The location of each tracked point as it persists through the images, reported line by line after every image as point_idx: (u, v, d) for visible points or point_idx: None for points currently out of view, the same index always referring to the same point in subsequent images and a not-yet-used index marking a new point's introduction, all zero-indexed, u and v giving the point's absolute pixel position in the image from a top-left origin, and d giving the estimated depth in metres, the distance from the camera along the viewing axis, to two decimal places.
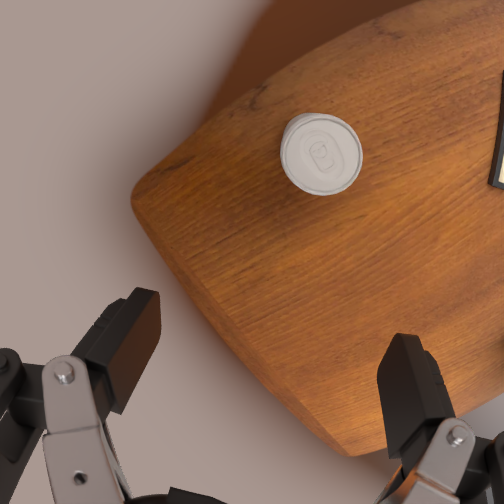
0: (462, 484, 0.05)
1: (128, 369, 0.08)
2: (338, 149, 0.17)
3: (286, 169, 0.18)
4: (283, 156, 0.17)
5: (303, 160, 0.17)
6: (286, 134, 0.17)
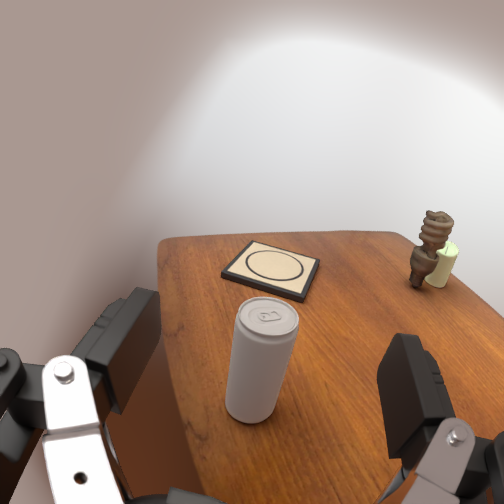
0: (462, 484, 0.05)
1: (128, 369, 0.08)
2: (265, 308, 0.25)
3: (274, 334, 0.22)
4: (263, 333, 0.22)
5: (269, 325, 0.23)
6: (246, 333, 0.22)
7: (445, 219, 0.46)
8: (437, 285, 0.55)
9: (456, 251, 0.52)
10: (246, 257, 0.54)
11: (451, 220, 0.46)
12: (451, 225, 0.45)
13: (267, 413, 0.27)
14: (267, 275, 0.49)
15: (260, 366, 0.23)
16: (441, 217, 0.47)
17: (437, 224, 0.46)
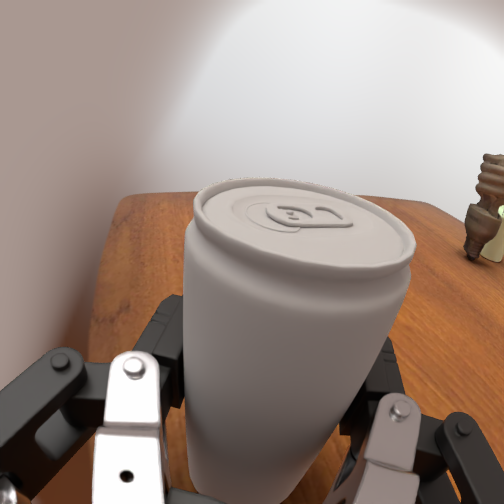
0: (412, 465, 0.06)
1: None
2: (293, 199, 0.07)
3: (350, 266, 0.05)
4: (299, 258, 0.04)
5: (319, 237, 0.05)
6: (217, 270, 0.05)
7: None
8: (494, 258, 0.37)
9: None
10: None
11: None
12: None
13: (286, 495, 0.10)
14: None
15: (280, 409, 0.06)
16: None
17: (502, 168, 0.29)
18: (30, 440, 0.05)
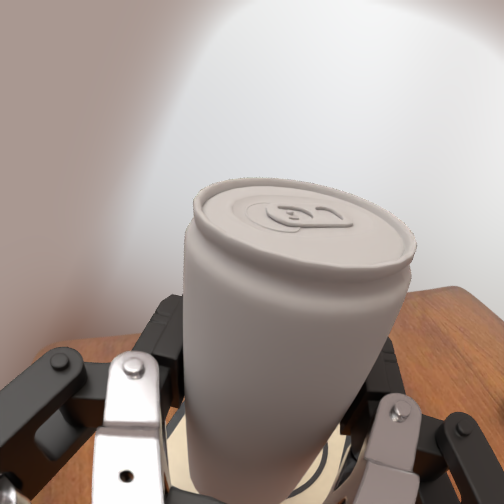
0: (412, 465, 0.06)
1: None
2: (293, 199, 0.07)
3: (350, 266, 0.04)
4: (299, 258, 0.04)
5: (319, 237, 0.05)
6: (217, 270, 0.05)
7: None
8: None
9: None
10: None
11: None
12: None
13: (286, 495, 0.10)
14: None
15: (281, 410, 0.06)
16: None
17: None
18: (30, 440, 0.05)
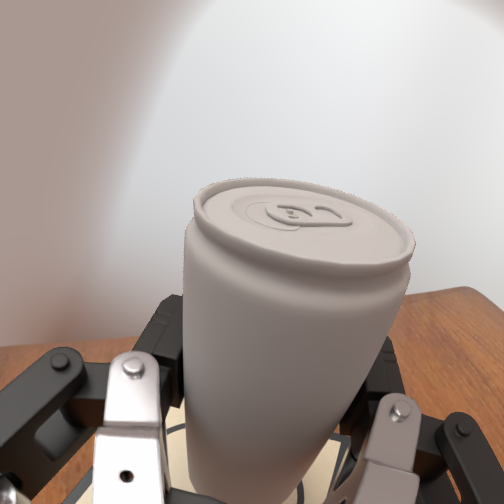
0: (412, 465, 0.06)
1: None
2: (292, 198, 0.07)
3: (349, 263, 0.05)
4: (299, 255, 0.04)
5: (319, 235, 0.05)
6: (217, 267, 0.05)
7: None
8: None
9: None
10: None
11: None
12: None
13: (286, 496, 0.10)
14: None
15: (280, 408, 0.06)
16: None
17: None
18: (30, 440, 0.05)
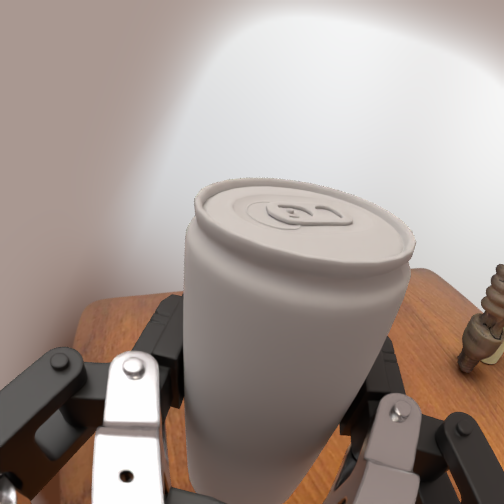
0: (412, 465, 0.06)
1: None
2: (292, 198, 0.07)
3: (351, 261, 0.05)
4: (301, 253, 0.05)
5: (319, 234, 0.05)
6: (219, 266, 0.05)
7: None
8: (490, 362, 0.32)
9: None
10: None
11: None
12: None
13: (286, 497, 0.10)
14: None
15: (282, 408, 0.06)
16: None
17: None
18: (30, 440, 0.05)
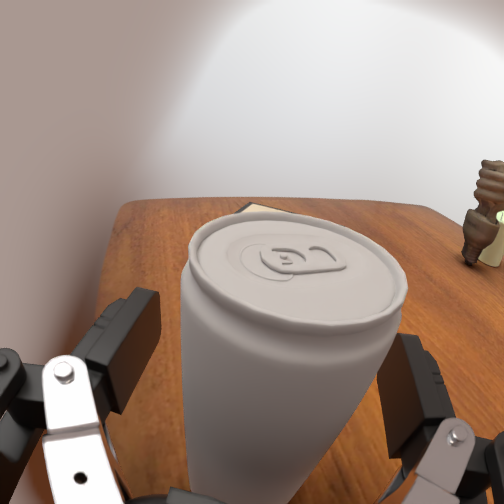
0: (462, 484, 0.05)
1: (128, 369, 0.08)
2: (287, 237, 0.07)
3: (339, 323, 0.05)
4: (290, 317, 0.05)
5: (311, 286, 0.06)
6: (212, 322, 0.05)
7: None
8: (492, 263, 0.38)
9: None
10: None
11: None
12: None
13: None
14: None
15: (274, 441, 0.06)
16: (502, 167, 0.30)
17: (500, 175, 0.29)
18: None
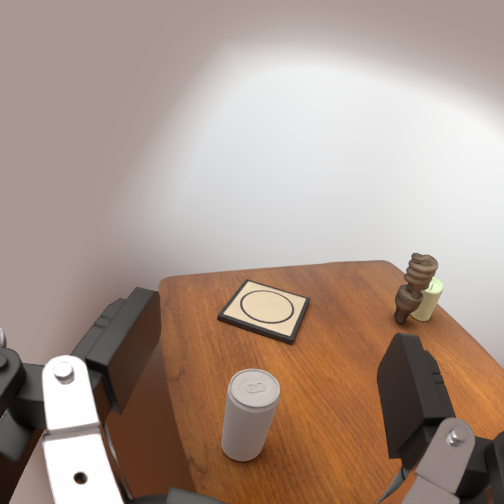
0: (462, 484, 0.05)
1: (128, 369, 0.08)
2: (252, 379, 0.28)
3: (258, 406, 0.25)
4: (249, 405, 0.25)
5: (255, 396, 0.26)
6: (236, 403, 0.26)
7: (429, 262, 0.50)
8: (421, 319, 0.58)
9: (441, 288, 0.56)
10: (240, 298, 0.58)
11: (435, 263, 0.50)
12: (435, 269, 0.49)
13: (256, 453, 0.31)
14: (260, 318, 0.53)
15: (248, 426, 0.27)
16: (426, 261, 0.50)
17: (421, 269, 0.50)
18: None
